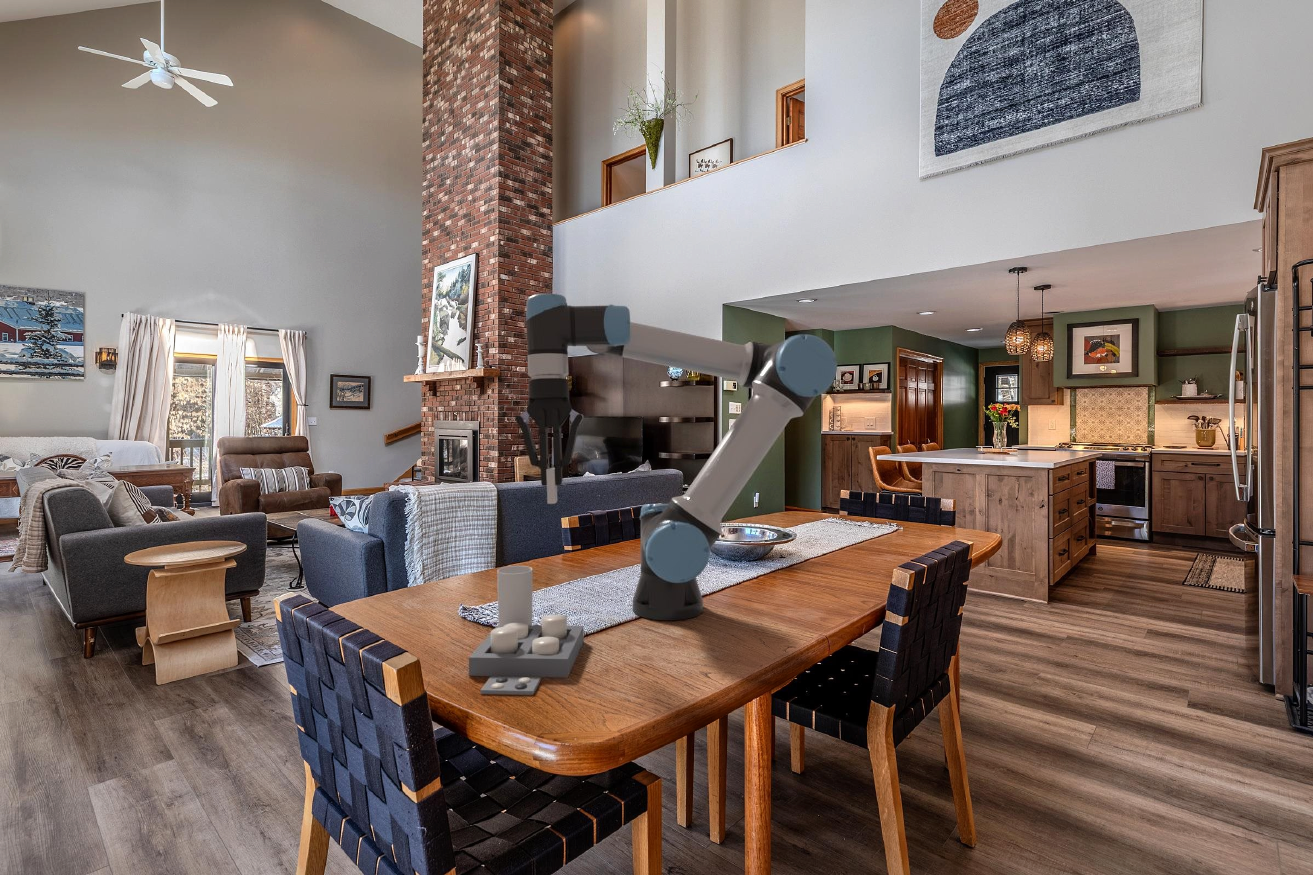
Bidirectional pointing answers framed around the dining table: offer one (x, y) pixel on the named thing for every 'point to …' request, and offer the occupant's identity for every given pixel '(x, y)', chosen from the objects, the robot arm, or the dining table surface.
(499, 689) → the card
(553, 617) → the button
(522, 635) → the button
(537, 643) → the button
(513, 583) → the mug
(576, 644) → the board
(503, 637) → the button
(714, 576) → the dining table surface
